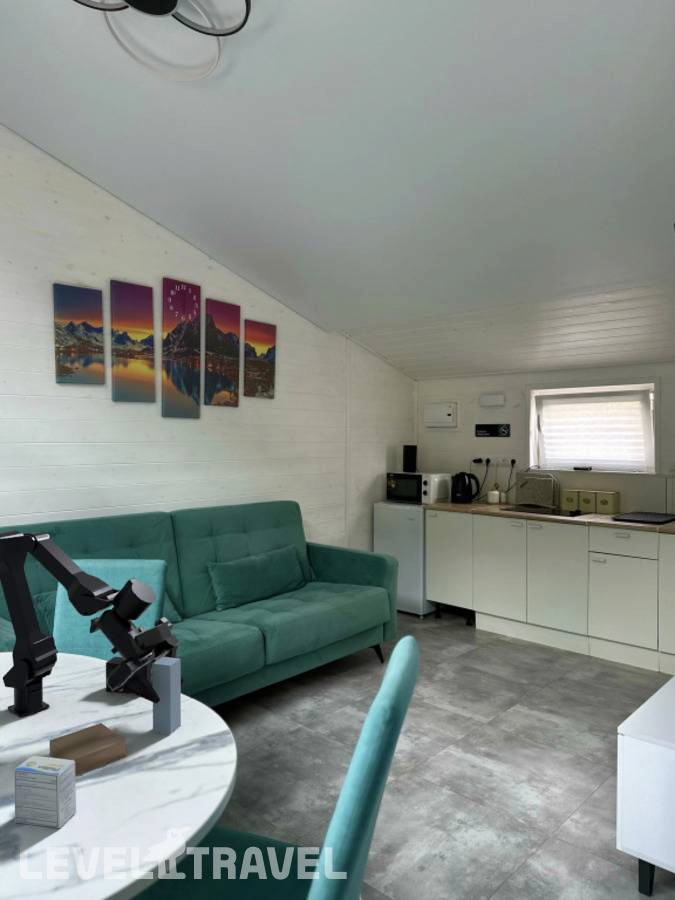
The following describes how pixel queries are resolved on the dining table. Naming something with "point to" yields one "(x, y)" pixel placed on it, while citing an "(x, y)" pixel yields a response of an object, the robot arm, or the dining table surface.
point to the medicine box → (45, 791)
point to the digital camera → (116, 661)
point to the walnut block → (89, 747)
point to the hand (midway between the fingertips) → (170, 692)
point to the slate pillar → (167, 695)
